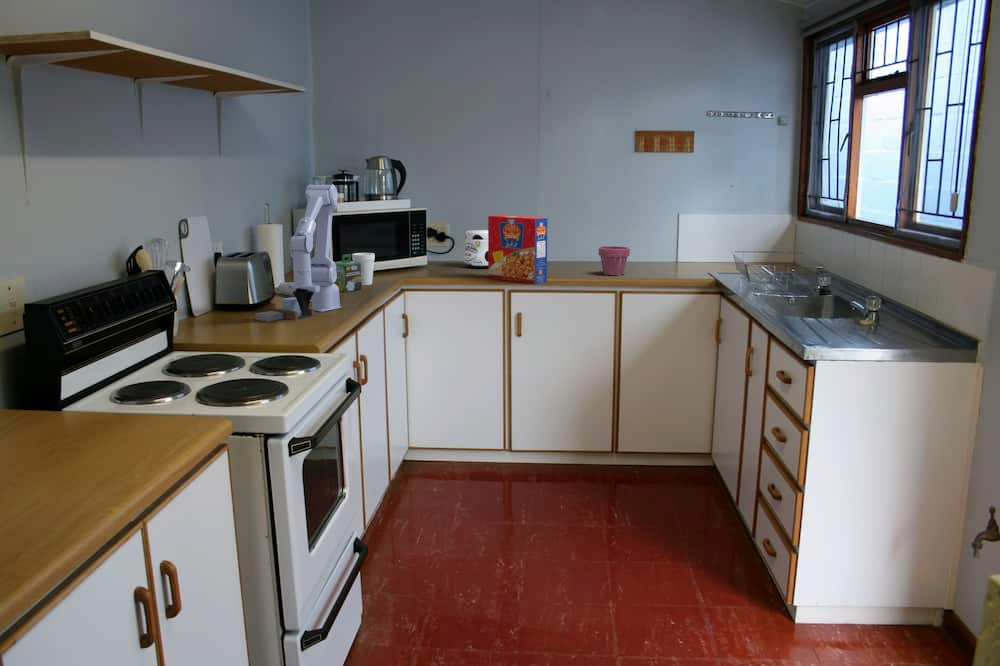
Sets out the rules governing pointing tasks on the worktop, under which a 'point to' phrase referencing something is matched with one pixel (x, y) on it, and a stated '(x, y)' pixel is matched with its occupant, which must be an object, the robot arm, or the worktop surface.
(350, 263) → the chalk box
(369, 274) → the foam cup
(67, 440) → the worktop surface
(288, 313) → the channel
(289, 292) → the tube
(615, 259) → the plant pot
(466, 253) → the milk container
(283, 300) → the block
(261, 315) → the stand
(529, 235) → the pasta box
